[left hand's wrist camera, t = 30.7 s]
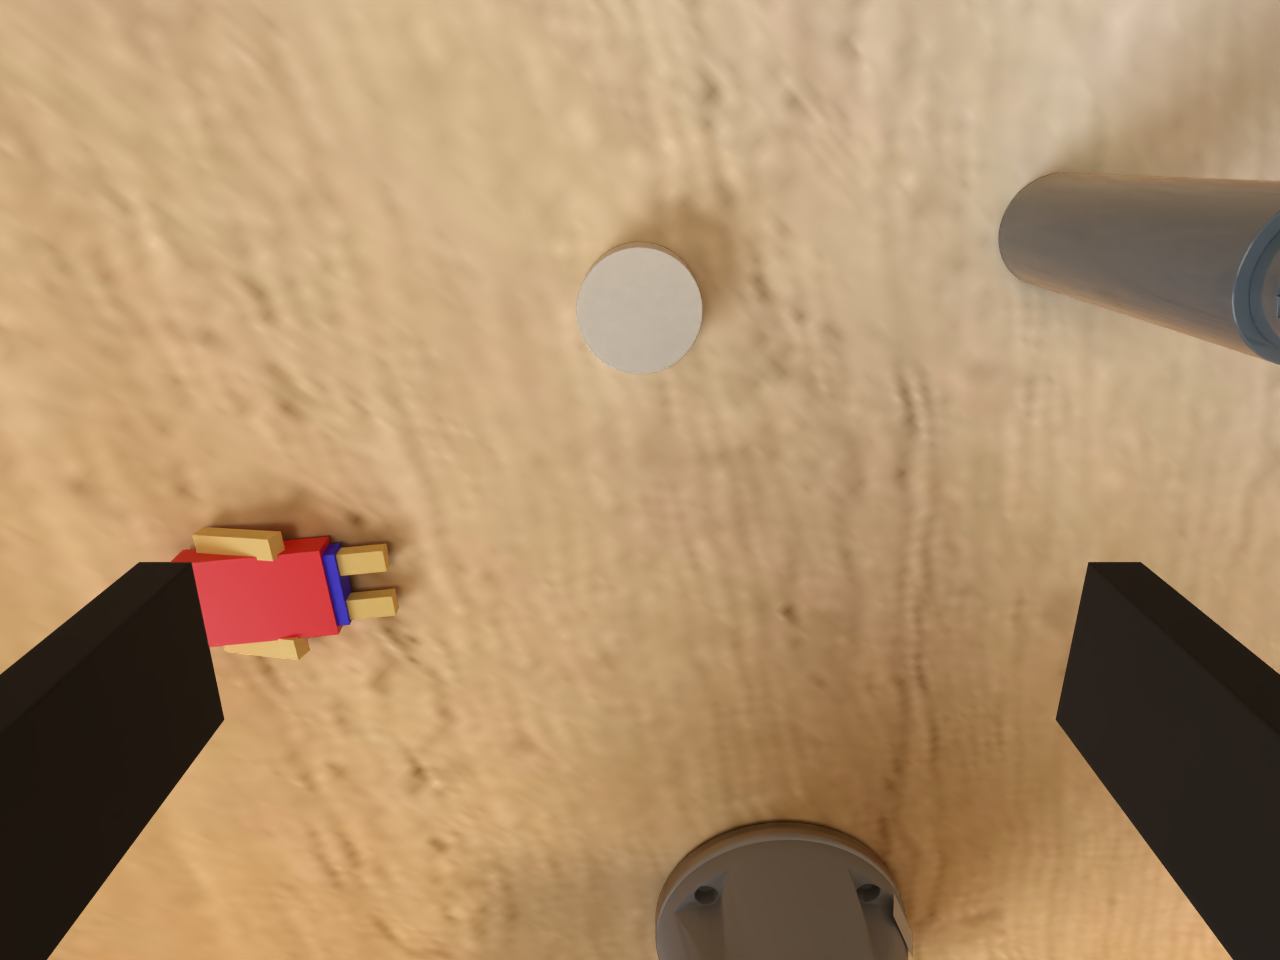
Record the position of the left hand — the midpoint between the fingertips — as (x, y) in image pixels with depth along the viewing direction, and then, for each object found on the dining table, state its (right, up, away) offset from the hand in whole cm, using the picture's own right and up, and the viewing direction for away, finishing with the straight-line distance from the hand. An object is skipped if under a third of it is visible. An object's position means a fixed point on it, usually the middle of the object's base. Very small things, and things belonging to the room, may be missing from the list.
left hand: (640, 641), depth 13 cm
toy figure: (-19, -3, +32) cm, 37 cm away
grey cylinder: (+19, +14, +26) cm, 35 cm away
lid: (0, +10, +25) cm, 27 cm away
